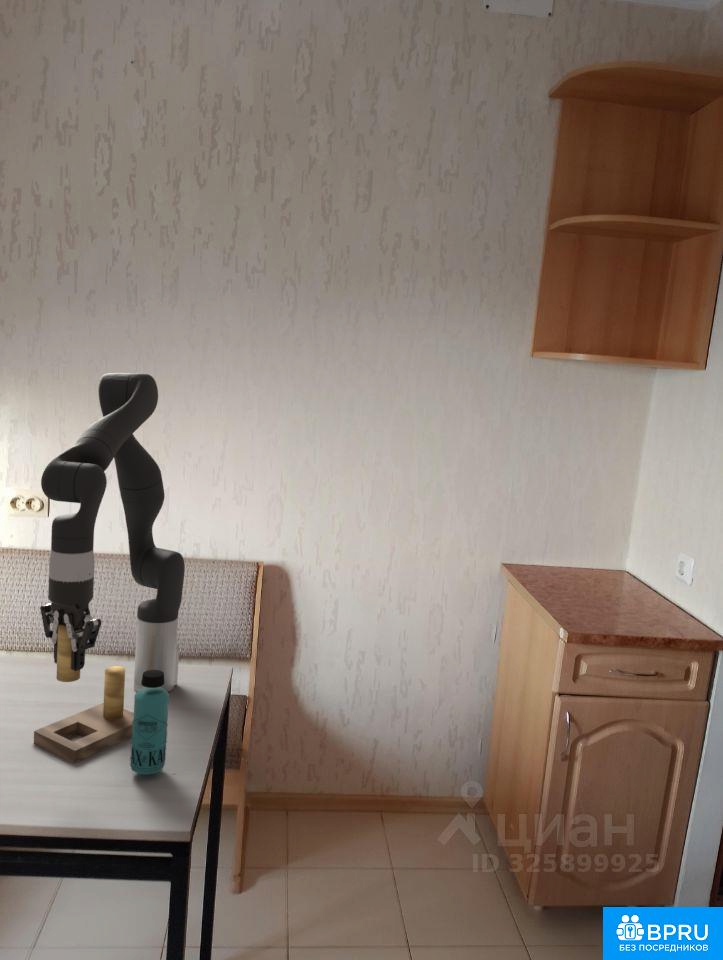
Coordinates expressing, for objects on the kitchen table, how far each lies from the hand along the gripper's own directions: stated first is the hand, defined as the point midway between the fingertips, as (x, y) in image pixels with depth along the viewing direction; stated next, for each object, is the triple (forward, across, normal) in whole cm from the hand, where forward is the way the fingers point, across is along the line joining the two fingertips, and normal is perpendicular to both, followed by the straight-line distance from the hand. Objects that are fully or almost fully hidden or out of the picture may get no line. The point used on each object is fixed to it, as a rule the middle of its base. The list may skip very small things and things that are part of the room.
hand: (68, 665), depth 142 cm
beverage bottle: (+21, -11, -10) cm, 26 cm away
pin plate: (+21, +8, -13) cm, 26 cm away
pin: (+2, 0, 0) cm, 2 cm away
